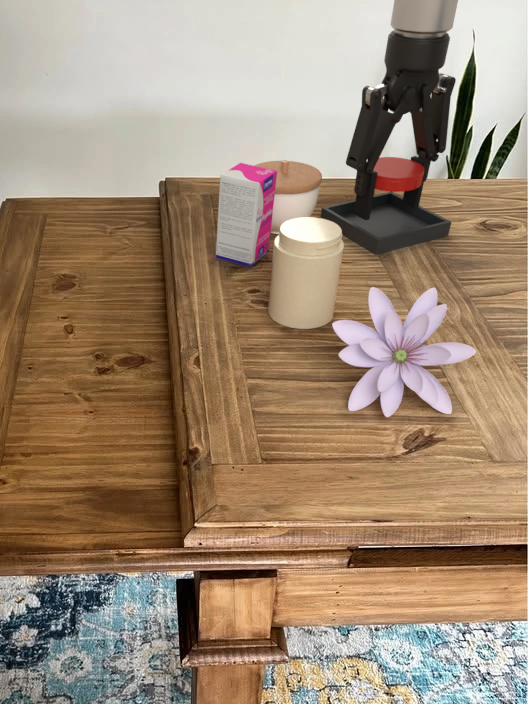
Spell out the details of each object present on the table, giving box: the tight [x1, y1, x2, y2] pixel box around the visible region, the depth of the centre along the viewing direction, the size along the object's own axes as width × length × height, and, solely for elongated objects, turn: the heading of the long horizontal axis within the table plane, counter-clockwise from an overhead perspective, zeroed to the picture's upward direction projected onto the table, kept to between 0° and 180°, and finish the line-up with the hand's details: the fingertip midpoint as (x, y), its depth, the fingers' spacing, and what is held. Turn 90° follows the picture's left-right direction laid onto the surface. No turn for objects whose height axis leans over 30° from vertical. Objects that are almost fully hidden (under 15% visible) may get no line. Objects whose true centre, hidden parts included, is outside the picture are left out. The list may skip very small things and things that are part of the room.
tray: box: [320, 191, 452, 255], centre depth 108 cm, size 13×13×2 cm
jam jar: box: [267, 216, 345, 330], centre depth 87 cm, size 8×8×11 cm
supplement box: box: [214, 162, 277, 268], centre depth 98 cm, size 6×6×12 cm
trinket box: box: [253, 159, 323, 235], centre depth 106 cm, size 11×11×9 cm
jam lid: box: [366, 156, 424, 193], centre depth 103 cm, size 8×8×2 cm
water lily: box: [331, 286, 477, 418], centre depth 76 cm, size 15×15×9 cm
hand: (386, 210), depth 107 cm, fingers closed on jam lid, 8 cm apart
